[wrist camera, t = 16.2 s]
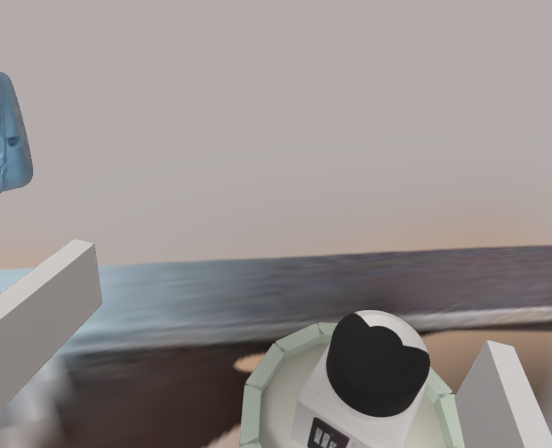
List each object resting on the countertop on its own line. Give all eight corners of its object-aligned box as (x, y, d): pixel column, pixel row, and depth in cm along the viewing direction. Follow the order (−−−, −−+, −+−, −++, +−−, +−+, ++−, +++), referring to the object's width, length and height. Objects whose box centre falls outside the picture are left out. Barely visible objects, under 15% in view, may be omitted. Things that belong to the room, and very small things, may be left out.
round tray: (196, 467, 31) (193, 456, 30) (304, 309, 44) (306, 295, 42) (427, 646, 24) (439, 644, 23) (477, 397, 37) (487, 384, 35)
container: (374, 498, 29) (423, 429, 21) (289, 438, 32) (302, 357, 24) (406, 413, 34) (456, 330, 26) (330, 368, 38) (352, 280, 29)
